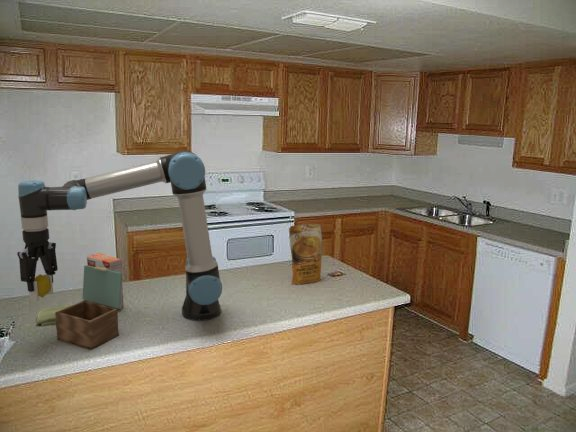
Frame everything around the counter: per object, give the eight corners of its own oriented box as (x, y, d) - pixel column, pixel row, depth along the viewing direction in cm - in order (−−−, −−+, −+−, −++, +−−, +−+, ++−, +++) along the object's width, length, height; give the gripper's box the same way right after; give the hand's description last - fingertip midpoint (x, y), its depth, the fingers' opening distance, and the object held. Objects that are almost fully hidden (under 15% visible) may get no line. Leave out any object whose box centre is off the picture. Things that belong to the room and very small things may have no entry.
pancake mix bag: (284, 282, 224) (285, 224, 218) (318, 276, 232) (320, 221, 227) (290, 286, 218) (292, 227, 212) (325, 281, 227) (328, 224, 221)
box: (122, 334, 166) (121, 308, 164) (92, 350, 154) (91, 322, 152) (86, 324, 173) (85, 299, 171) (56, 339, 161) (53, 312, 159)
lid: (115, 309, 161) (120, 308, 163) (117, 272, 160) (122, 271, 162) (79, 300, 168) (84, 299, 170) (81, 264, 167) (85, 264, 169)
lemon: (44, 293, 159) (42, 270, 158) (55, 296, 157) (53, 273, 155) (29, 298, 155) (26, 275, 153) (39, 301, 152) (37, 278, 150)
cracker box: (89, 305, 190) (86, 255, 186) (101, 300, 195) (99, 252, 191) (111, 313, 183) (108, 262, 179) (124, 308, 188) (121, 258, 184)
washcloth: (37, 314, 181) (36, 307, 180) (87, 308, 189) (86, 300, 188) (36, 328, 169) (35, 320, 169) (89, 320, 177) (88, 312, 176)
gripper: (48, 222, 161) (54, 285, 166) (1, 234, 143) (9, 305, 148) (66, 223, 159) (71, 288, 163) (20, 236, 141) (28, 308, 146)
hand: (42, 296), depth 156 cm, fingers closed on lemon, 5 cm apart
